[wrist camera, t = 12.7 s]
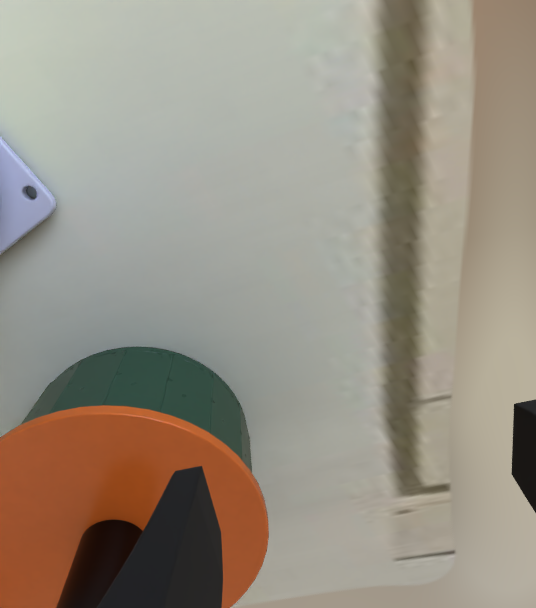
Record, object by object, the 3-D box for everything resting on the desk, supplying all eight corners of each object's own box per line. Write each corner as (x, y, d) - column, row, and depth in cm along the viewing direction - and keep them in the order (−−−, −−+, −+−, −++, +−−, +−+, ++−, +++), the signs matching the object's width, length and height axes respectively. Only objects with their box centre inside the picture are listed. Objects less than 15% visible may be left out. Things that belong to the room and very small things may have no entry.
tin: (-13, 426, 21) (-88, 520, 16) (156, 304, 19) (131, 365, 14) (134, 547, 24) (109, 656, 19) (286, 451, 23) (303, 542, 18)
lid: (-5, 626, 19) (-69, 763, 15) (-67, 396, 15) (-178, 498, 11) (262, 611, 20) (270, 735, 16) (271, 392, 16) (287, 483, 12)
